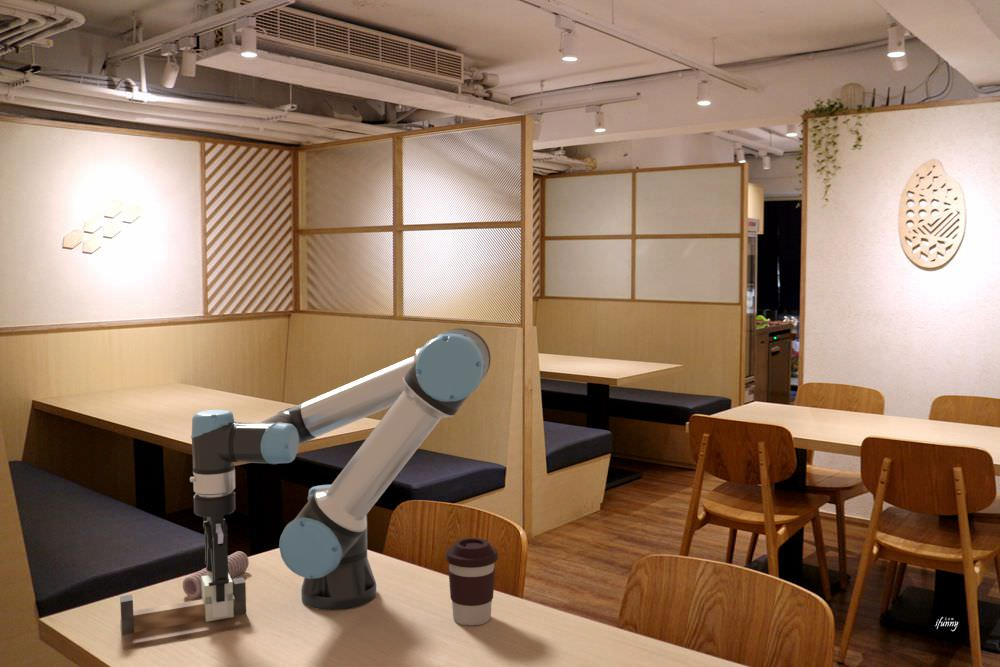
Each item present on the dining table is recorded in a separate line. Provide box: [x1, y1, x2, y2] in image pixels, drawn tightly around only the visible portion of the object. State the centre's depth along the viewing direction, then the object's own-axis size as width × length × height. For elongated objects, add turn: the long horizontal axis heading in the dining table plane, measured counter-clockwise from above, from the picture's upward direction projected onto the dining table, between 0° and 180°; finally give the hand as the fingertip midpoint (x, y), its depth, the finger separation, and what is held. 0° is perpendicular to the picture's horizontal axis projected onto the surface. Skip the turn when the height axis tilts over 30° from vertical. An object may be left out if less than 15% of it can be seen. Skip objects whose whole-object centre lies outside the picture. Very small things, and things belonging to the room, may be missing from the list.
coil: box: [182, 550, 250, 600], centre depth 184 cm, size 5×5×18 cm
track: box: [119, 576, 251, 650], centre depth 163 cm, size 22×12×7 cm, turn 116°
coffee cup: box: [445, 537, 499, 627], centre depth 166 cm, size 10×10×15 cm
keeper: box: [201, 573, 234, 622], centre depth 165 cm, size 5×6×7 cm
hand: (217, 610), depth 166 cm, fingers closed on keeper, 6 cm apart
